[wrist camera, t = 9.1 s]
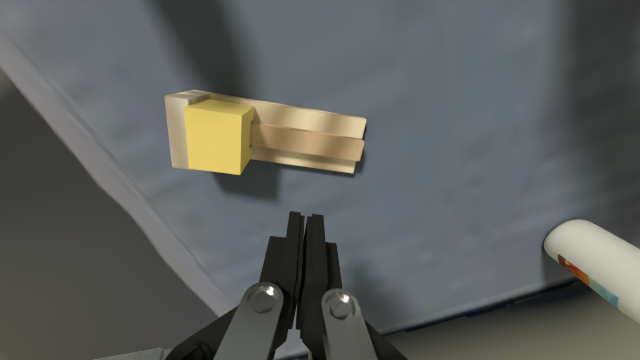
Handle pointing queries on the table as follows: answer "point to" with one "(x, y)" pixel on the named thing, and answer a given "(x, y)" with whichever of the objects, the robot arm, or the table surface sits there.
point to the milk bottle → (599, 262)
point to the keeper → (218, 136)
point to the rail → (300, 122)
